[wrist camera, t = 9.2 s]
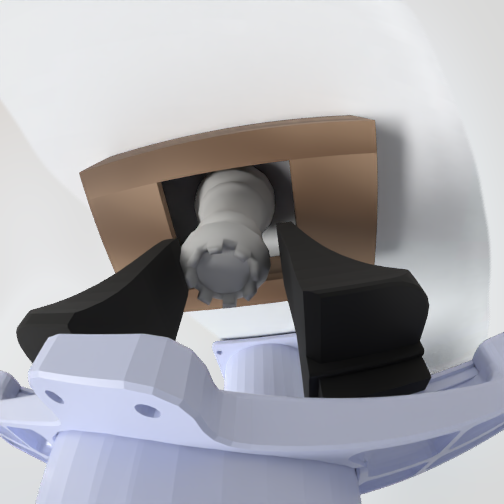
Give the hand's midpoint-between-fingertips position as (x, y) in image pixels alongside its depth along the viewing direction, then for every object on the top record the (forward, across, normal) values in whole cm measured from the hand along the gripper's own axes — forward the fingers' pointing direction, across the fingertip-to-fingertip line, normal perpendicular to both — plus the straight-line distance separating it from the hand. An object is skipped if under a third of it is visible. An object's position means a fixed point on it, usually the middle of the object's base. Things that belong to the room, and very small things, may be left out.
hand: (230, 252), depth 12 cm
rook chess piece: (+6, 0, 0) cm, 6 cm away
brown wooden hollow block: (+5, 0, 0) cm, 5 cm away
